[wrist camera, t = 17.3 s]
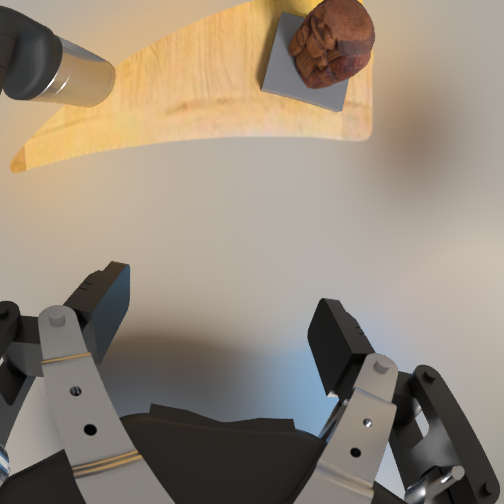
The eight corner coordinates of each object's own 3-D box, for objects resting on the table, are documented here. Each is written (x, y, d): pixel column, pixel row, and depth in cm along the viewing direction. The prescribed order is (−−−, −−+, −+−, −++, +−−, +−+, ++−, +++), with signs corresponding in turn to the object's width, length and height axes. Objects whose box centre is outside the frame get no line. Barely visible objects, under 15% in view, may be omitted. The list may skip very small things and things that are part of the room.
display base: (260, 90, 39) (262, 88, 37) (279, 17, 34) (282, 11, 31) (336, 112, 41) (341, 111, 38) (351, 40, 35) (356, 36, 33)
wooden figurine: (279, 32, 33) (305, -23, 16) (315, 26, 32) (358, -24, 16) (304, 95, 37) (348, 70, 21) (340, 88, 37) (399, 64, 20)
